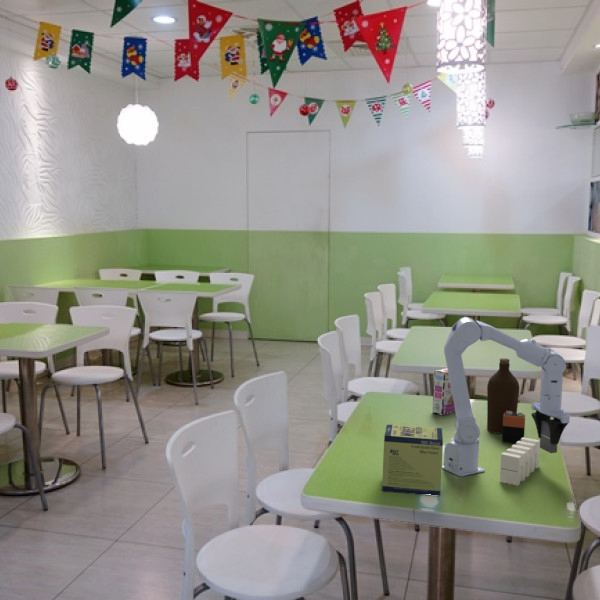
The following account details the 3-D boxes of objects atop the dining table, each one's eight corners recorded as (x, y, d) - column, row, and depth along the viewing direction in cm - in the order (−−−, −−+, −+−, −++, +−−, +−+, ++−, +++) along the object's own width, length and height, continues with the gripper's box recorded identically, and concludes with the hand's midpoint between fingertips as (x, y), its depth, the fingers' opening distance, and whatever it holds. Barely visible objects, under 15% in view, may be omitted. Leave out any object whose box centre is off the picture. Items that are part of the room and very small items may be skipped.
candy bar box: (443, 416, 255) (444, 372, 253) (431, 413, 258) (433, 370, 256) (460, 410, 262) (462, 368, 260) (449, 408, 266) (451, 366, 264)
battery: (502, 438, 229) (503, 409, 228) (523, 441, 227) (525, 411, 226) (501, 442, 225) (503, 412, 224) (523, 445, 223) (525, 415, 222)
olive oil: (505, 436, 231) (509, 363, 228) (478, 429, 239) (482, 358, 236) (523, 431, 238) (527, 360, 235) (497, 423, 246) (500, 354, 243)
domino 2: (522, 481, 192) (524, 453, 191) (504, 477, 195) (506, 450, 194) (524, 479, 193) (526, 451, 192) (507, 475, 196) (508, 448, 195)
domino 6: (545, 447, 199) (547, 420, 198) (556, 452, 194) (558, 425, 193) (539, 447, 199) (541, 420, 198) (550, 453, 194) (552, 425, 193)
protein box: (441, 496, 180) (443, 439, 179) (381, 491, 183) (383, 435, 181) (440, 482, 191) (442, 427, 189) (383, 477, 193) (385, 423, 191)
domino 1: (517, 486, 188) (519, 457, 187) (499, 481, 191) (501, 454, 190) (519, 483, 190) (521, 455, 189) (502, 479, 193) (503, 452, 192)
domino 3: (527, 477, 195) (528, 449, 194) (509, 473, 198) (511, 446, 197) (529, 475, 197) (531, 448, 196) (512, 471, 200) (513, 444, 199)
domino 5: (536, 468, 202) (537, 442, 201) (519, 464, 205) (520, 438, 204) (538, 466, 204) (540, 440, 203) (521, 463, 206) (523, 437, 206)
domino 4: (531, 472, 199) (533, 446, 198) (514, 468, 201) (516, 442, 200) (534, 470, 200) (535, 444, 199) (517, 467, 203) (518, 440, 202)
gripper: (580, 399, 189) (577, 447, 190) (546, 387, 203) (544, 432, 204) (558, 401, 187) (555, 449, 188) (526, 388, 201) (523, 433, 202)
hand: (548, 440), depth 196 cm, fingers closed on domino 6, 5 cm apart
